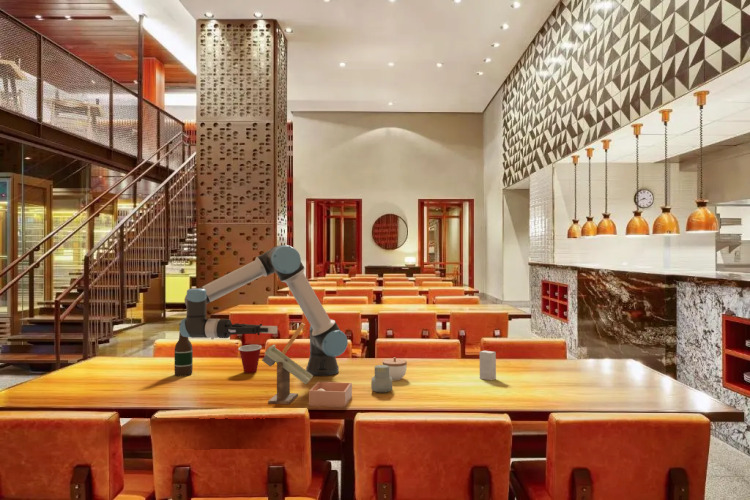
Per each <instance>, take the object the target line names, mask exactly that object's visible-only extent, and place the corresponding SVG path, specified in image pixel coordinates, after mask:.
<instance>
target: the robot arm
mask: <svg viewBox="0 0 750 500" xmlns="http://www.w3.org/2000/svg"><path fill="white" fill-rule="evenodd" d="M304 272H305V267H304V264H303V262H302V259H301V255H300V253H299V251H298V250H297V249H296V248H294V247H293V246H291V245H288V244H282V245H275V246H273V247H271V248H270V249H268V250H266V251H265V252H263V253H262V254H259V255H258V256H256V257H255V260H253V261H251V262H249V263H247V264H245V265H244V266H241V267H239V268H237V269H235V270H233V271H231V272H229V273H227V274H225V275H223V276H220V277H218V278H217V279H214V280H212V281H211V282H209V283H207V284H205V285H203V286H201V287H199V288H188V289H187V290H186V295H185V297H184V305H185V306H186V314H185V318H183V319H181V321H180V322H179V324H180V325H178V326H179V329H178V331H179V333H180V334H181V335H182V336H183V337H188V338H192V339H194V338H195V339H211V340H214V339H229V338H230V337H231V336H232V335H256V334H257V336H260V335H261V334H272V335H273V334H274V335H275V334H276V335H277V334H278V325H263V324H262V323H259V324H248V323H237V322H236V323H232V321H231V319H229V318H228V319H227V318H221V319H220V318H207V305H208V304H209V303H212V302H213V301H215V300H218V299H219V298H221V297H223V296H225V295H228V294H229V293H232V292H233V291H235V290H238V289H239V288H242V287H243V286H245V285H247V284H250V283H251V282H253V281H255V280H258V279H259V278H261V277H268V276H270V275H272V274H276V275H277V277H278V279H279V281H280V282H282V283H285V284H286V286H287V287H288V290H289V291H290V293H291V294H292V296H293V298H294V299H295V301H296V304H298V306H299V308H300V309H301V311H302V312H303V315H304V316H305V318H306V320H307V322H308V323H309V325H310V326H309V359H308V360H307V361H308V362H307V365H306V368H305V370H306V371H307V372H309V373H310V374H312V375H313V377H314V376H315V377H325V376H326V377H327V376H328V377H329V376H333V375H336V374H338V373H339V372H340V371H339V370H340V369H339V368H340V367H339V365H338V361H337V358H336V357H338V356H341V355H342V354H344V353H345V351H346V350H347V347H348V343H349V342H348V337H347V335H346V334H345V333H344V331H343V330H341V328H339V325H338V323H337V322H336V320H334V319H331V318H330V317H329V315H328V313H327V312H326V309H325V308H324V307H323V304H322V303H321V301H320V299H319V298H318V296H317V294H316V292H315V291H314V288H313V287H312V285H311V284H310V282H309V279H308V278H307V277H306V275H305V273H304Z"/></svg>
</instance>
